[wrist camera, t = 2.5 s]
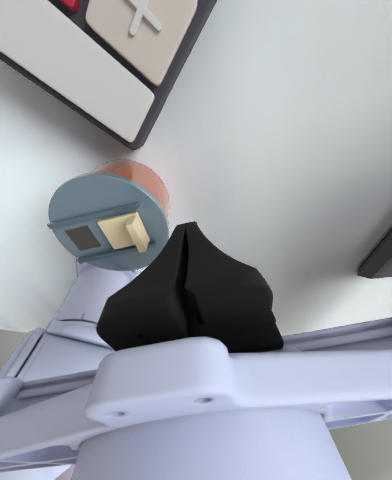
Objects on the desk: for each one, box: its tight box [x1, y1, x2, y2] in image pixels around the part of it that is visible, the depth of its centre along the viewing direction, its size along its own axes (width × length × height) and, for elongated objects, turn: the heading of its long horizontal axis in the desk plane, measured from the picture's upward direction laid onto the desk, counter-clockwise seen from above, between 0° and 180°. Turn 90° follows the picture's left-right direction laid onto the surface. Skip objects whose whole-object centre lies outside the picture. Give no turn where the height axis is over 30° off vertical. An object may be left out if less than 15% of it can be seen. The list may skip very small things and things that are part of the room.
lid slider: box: [97, 212, 150, 253], centre depth 14 cm, size 3×3×2 cm
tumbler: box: [47, 160, 169, 271], centre depth 17 cm, size 9×9×7 cm
